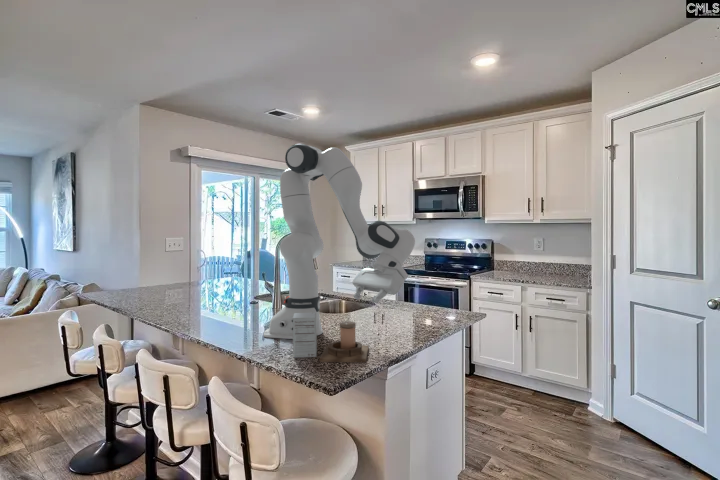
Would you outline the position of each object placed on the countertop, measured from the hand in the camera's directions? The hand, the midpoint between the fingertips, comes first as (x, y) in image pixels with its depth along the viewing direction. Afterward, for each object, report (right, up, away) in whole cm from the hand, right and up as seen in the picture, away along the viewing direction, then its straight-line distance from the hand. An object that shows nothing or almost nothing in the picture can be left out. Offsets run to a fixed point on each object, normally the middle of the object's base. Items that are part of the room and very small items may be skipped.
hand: (364, 299), depth 129 cm
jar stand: (-6, -17, -5) cm, 19 cm away
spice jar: (-5, -16, -5) cm, 17 cm away
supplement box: (-19, -17, -4) cm, 26 cm away
